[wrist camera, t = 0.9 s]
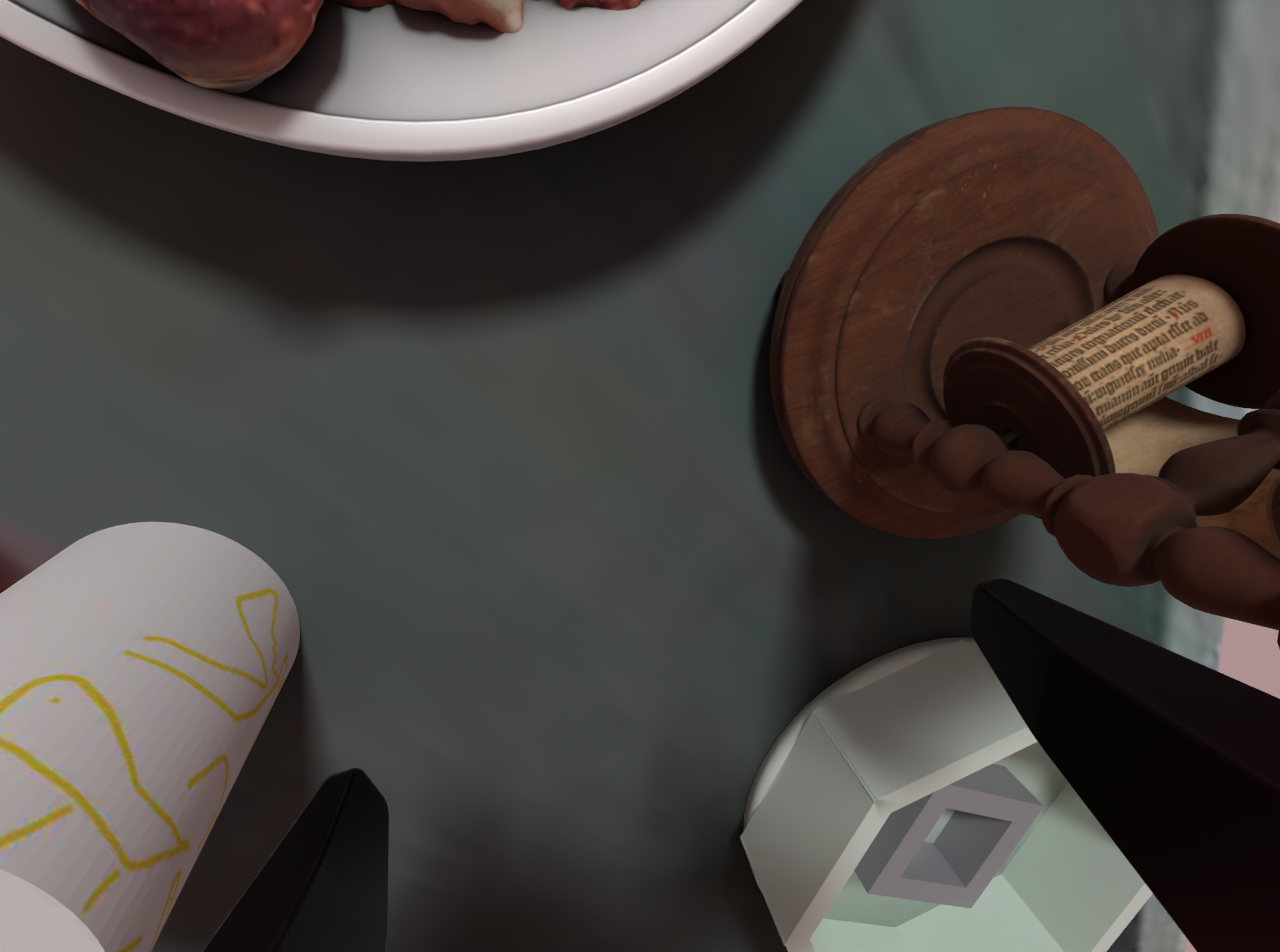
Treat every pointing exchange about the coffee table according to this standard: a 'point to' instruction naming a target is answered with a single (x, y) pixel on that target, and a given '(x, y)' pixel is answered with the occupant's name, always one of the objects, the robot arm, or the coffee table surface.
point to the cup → (127, 725)
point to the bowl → (396, 65)
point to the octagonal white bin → (929, 821)
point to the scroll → (1040, 359)
